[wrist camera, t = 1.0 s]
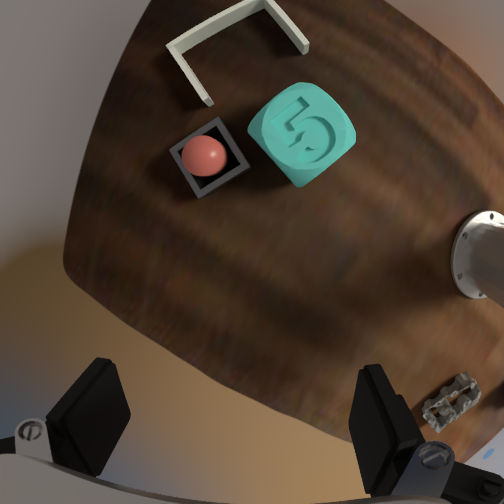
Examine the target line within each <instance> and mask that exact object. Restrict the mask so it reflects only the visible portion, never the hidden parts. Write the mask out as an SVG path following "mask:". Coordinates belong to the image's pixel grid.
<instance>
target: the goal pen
mask: <svg viewBox="0 0 504 504" xmlns="http://www.w3.org/2000/svg"><path fill="white" fill-rule="evenodd" d="M264 8H265V9H266V11H267V12H268V13H269V14H270V15H271V16H272V17H273V19H274V20H275V21H276V22H277V23H278V24H279V26H280V27H281V28H282V29H283V31H284V32H285V33H286V34H287V35H288V37H289V38H290V39H291V40H292V42H293V43H294V44H295V46H296V47H297V48H298V49H299V51H300V52H301V53H302V55H304V54H306V53H308V49H309V44H310V43H309V42H308V40H307V39H306V38H305V37H304V35H303V34H302V33H301V32H300V30H299V29H298V28H297V27H296V26H295V24H294V23H293V22H292V21H291V20H290V18H289V17H288V16H287V15H286V14H285V13H284V12H283V10H282V9H281V8H280V7H279V6H278V5H277V4H276V3H275V1H274V0H244V1H242V2H240V3H238V4H236V5H234V6H232V7H230V8H228V9H226V10H224V11H222V12H220V13H219V14H217V15H215V16H213V17H211V18H209V19H208V20H206V21H204V22H202V23H201V24H199V25H197V26H196V27H194V28H192V29H191V30H189V31H187V32H186V33H184V34H182V35H181V36H179V37H178V38H176V39H175V40H173V41H172V42H170V43H168V44H167V45H166V47H167V48H168V50H169V51H170V52H171V54H172V55H173V57H174V58H175V60H176V61H177V63H178V64H179V66H180V67H181V69H182V70H183V72H184V73H185V75H186V76H187V78H188V79H189V81H190V82H191V84H192V85H193V87H194V88H195V90H196V91H197V93H198V94H199V96H200V97H201V99H202V100H203V102H204V103H206V104H207V105H208V106H209V107H210V106H211V105H213V104H214V103H213V101H212V100H211V98H210V97H209V95H208V94H207V92H206V91H205V89H204V88H203V86H202V85H201V83H200V82H199V80H198V79H197V77H196V76H195V74H194V73H193V71H192V70H191V68H190V67H189V65H188V64H187V62H186V61H185V60H184V58H183V57H182V55H181V54H182V53H184V52H185V51H187V50H188V49H190V48H192V47H193V46H195V45H196V44H198V43H200V42H201V41H203V40H205V39H206V38H208V37H210V36H212V35H213V34H215V33H217V32H219V31H220V30H222V29H224V28H226V27H228V26H230V25H232V24H233V23H235V22H237V21H239V20H241V19H243V18H245V17H247V16H249V15H251V14H253V13H256V12H258V11H260V10H262V9H264Z"/></svg>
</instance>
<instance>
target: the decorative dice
mask: <svg viewBox="0 0 504 504" xmlns="http://www.w3.org/2000/svg"><path fill="white" fill-rule="evenodd" d="M248 133H249V135H250V136H251V137H252V138H253V139H254V140H255V141H256V142H257V144H258V145H259V146H260V147H261V148H262V149H263V150H264V151H265V152H266V154H267V155H268V156H269V157H270V158H271V159H272V160H273V161H274V162H275V164H276V165H277V166H278V167H279V168H280V169H281V170H282V171H283V172H284V174H285V175H286V176H287V177H288V178H289V179H290V180H291V181H292V182H293V184H294V185H295V186H296V187H302V186H304V185H306V184H307V183H308V182H310V181H311V180H312V179H314V178H315V177H316V176H318V175H319V174H320V173H321V172H323V171H324V170H325V169H326V168H328V167H329V166H330V165H331V164H332V163H334V162H335V161H336V160H337V159H338V158H340V157H341V156H342V155H343V154H344V153H345V152H346V151H347V150H349V149H350V148H351V147H352V146H353V145H354V144H355V142H356V133H355V130H354V127H353V125H352V123H351V121H350V120H349V118H348V117H347V115H346V114H345V112H344V111H343V110H342V109H341V107H340V106H339V105H338V104H337V103H336V102H335V101H334V100H333V99H332V98H331V97H330V96H329V95H328V94H327V93H326V92H325V91H323V90H322V89H321V88H319V87H317V86H316V85H314V84H311V83H302V82H299V83H296V84H294V85H292V86H290V87H288V88H287V89H285V90H284V91H282V92H281V93H279V94H278V95H277V96H275V97H274V98H273V99H272V100H271V101H270V102H268V103H267V104H266V105H265V106H264V107H263V108H262V109H261V110H260V111H259V112H258V113H257V114H256V116H255V117H254V118H253V119H252V121H251V122H250V124H249V126H248Z"/></svg>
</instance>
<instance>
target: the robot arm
mask: <svg viewBox="0 0 504 504" xmlns="http://www.w3.org/2000/svg"><path fill="white" fill-rule="evenodd" d="M450 265H451V273H452V277H453V280H454V282H455V284H456V286H457V287H458V289H459V290H460V291H461V292H462V293H463V294H465V295H466V296H468V297H470V298H474V299H482V298H486V297H489V298H490V299H492V300H493V301H494V302H496V303H497V304H499V305H500V306H501V307H503V308H504V216H503V215H502V214H500V213H499V212H496V211H492V210H481V211H478V212H476V213H474V214H473V215H471V216H470V217H469V218H468V219H467V220H466V221H465V222H464V223H463V224H462V226H461V227H460V229H459V231H458V233H457V235H456V237H455V240H454V243H453V246H452V251H451V261H450ZM130 416H131V413H130V409H129V407H128V404H127V401H126V398H125V395H124V391H123V388H122V385H121V382H120V379H119V376H118V372H117V369H116V365H115V364H114V363H112V361H111V360H110V359H105V358H99V357H98V358H96V359H95V360H94V361H93V362H92V363H91V364H90V365H89V367H88V368H87V369H86V370H85V371H84V372H83V373H82V374H81V376H80V377H79V378H78V379H77V380H76V381H75V383H74V384H73V385H72V386H71V387H70V388H69V390H68V391H67V392H66V393H65V394H64V395H63V397H62V398H61V399H60V400H59V401H58V402H57V404H56V405H55V406H54V407H53V408H52V410H51V411H50V412H49V413H48V414H47V416H46V419H47V421H46V422H45V423H44V422H43V421H42V420H40V419H35V418H33V419H32V418H31V419H27V420H24V421H23V422H21V423H20V424H19V425H18V426H17V428H16V429H15V436H13V437H9V438H4V439H0V504H227V503H215V502H206V501H198V500H190V499H184V498H177V497H172V496H165V495H161V494H156V493H151V492H146V491H142V490H138V489H134V488H130V487H125V486H122V485H118V484H114V483H111V482H108V481H104V480H101V479H98V478H96V476H99V475H100V474H101V472H102V470H103V469H104V467H105V465H106V463H107V461H108V459H109V457H110V455H111V453H112V451H113V450H114V448H115V446H116V444H117V442H118V440H119V438H120V437H121V435H122V433H123V431H124V429H125V427H126V425H127V424H128V422H129V420H130ZM349 430H350V434H351V438H352V441H353V445H354V449H355V453H356V457H357V461H358V465H359V469H360V473H361V477H362V481H363V486H364V489H365V493H366V494H370V495H371V498H363V499H355V500H347V501H339V502H329V503H317V504H504V479H503V478H502V477H501V476H500V475H497V474H495V473H491V472H488V471H485V470H481V469H478V468H474V467H471V466H468V465H465V464H462V463H459V462H456V461H455V454H454V451H453V450H452V448H451V447H450V446H449V445H447V444H446V443H443V442H440V441H428V442H426V441H425V439H424V437H423V435H422V433H421V431H420V429H419V427H418V425H417V423H416V421H415V419H414V417H413V415H412V413H411V411H410V410H409V408H408V406H407V404H406V402H405V400H404V398H403V397H402V395H400V394H398V395H396V393H395V392H394V390H393V388H392V386H391V384H390V382H389V380H388V378H387V376H386V374H385V372H384V370H383V368H382V367H381V365H380V364H372V365H365V366H364V368H363V369H360V370H359V373H358V378H357V384H356V389H355V394H354V398H353V403H352V408H351V412H350V417H349Z"/></svg>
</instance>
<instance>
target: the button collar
mask: <svg viewBox="0 0 504 504" xmlns="http://www.w3.org/2000/svg"><path fill="white" fill-rule="evenodd" d="M220 132H221V134H222V135H223V137H224V139H225V140H226V142H227V143H228V145H229V147H230V148H231V150H232V151H233V153H234V155H235V156H236V158H237V159H238V161H239V163H240V164H241V165H239V166H238V167H236V168H234V169H233V170H231V171H229V172H228V173H226V174H225V175H223V176H221V177H220V178H218V179H217V180H215V181H214V182H212V183H210V184H209V185H206V183H205V181H204V180H203V178H202V176H196V175H193V174H191V173H190V172H189V171H187V169H186V168H185V167H184V165H183V162H182V151H183V149H184V146H185V145H186V143H187V142H188V141H189V140H191V139H192V138H194V137H196V136H202V135H204V136H209V137H211V138H212V137H214V136H215V135H217V134H218V133H220ZM169 151H170V152H171V154H172V156H173V157H174V159H175V161H176V162H177V164H178V166H179V167H180V169H181V171H182V172H183V174H184V176H185V177H186V179H187V181H188V182H189V184H190V186H191V187H192V189H193V191H194V192H195V194H196V196H197V197H198V199H200V198H204V197H207V196H209V195H211V194H212V193H214V192H215V191H217V190H218V189H220V188H222V187H223V186H225V185H226V184H228V183H230V182H231V181H233V180H235V179H236V178H238V177H239V176H241V175H243V174H244V173H246V172H248V171H249V170H251V169H253V167H252V165H251V163H250V162H249V160H248V158H247V157H246V155H245V154H244V152H243V150H242V149H241V147H240V146H239V144H238V142H237V141H236V139H235V138H234V136H233V135H232V133H231V131H230V130H229V128H228V127H227V125H226V124H225V122H224V121H223V120H222V119H220V118H219V117H217V118H215V119H214V120H212V121H211V122H209V123H208V124H206V125H204V126H203V127H201V128H200V129H198V130H197V131H195V132H194V133H192V134H191V135H189V136H188V137H186V138H185V139H184V140H182V141H181V142H179V143H178V144H176V145H175V146H173V147H172V148H171V149H169Z"/></svg>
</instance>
